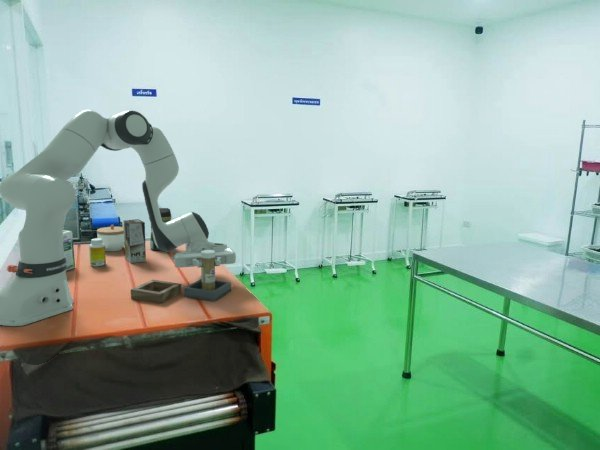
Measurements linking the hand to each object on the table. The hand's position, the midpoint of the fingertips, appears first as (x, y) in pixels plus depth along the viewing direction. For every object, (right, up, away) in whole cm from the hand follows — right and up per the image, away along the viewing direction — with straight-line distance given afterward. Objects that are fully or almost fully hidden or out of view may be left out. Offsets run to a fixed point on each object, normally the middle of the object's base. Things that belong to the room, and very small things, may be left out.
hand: (208, 264), depth 145 cm
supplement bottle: (-50, -3, +32) cm, 59 cm away
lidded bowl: (-54, +2, +56) cm, 78 cm away
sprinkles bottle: (-1, -9, +3) cm, 10 cm away
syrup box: (-60, -4, +24) cm, 65 cm away
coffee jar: (-34, +2, +59) cm, 68 cm away
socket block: (-17, -10, 0) cm, 19 cm away
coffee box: (-38, -2, +40) cm, 56 cm away
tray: (-1, -10, +3) cm, 10 cm away
